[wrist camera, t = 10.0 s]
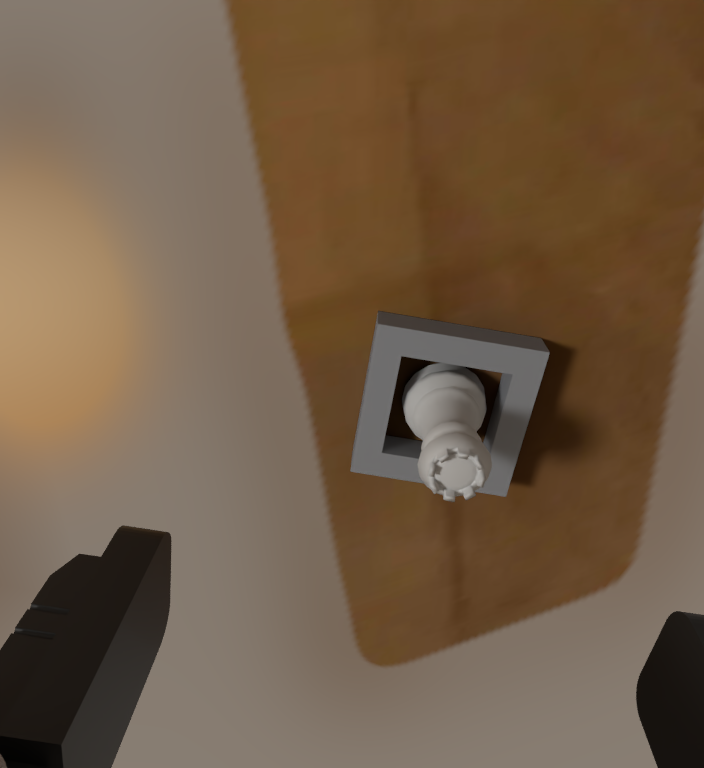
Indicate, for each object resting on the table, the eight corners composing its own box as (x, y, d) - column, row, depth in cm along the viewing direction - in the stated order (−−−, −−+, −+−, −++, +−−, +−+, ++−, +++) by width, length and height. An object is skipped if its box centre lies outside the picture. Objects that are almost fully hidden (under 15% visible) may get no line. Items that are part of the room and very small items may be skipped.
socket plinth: (378, 310, 34) (377, 323, 32) (541, 338, 34) (549, 352, 32) (352, 452, 37) (350, 471, 35) (500, 476, 37) (505, 496, 35)
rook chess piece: (461, 444, 37) (479, 533, 29) (388, 415, 36) (387, 498, 29) (499, 378, 35) (528, 455, 28) (423, 345, 34) (432, 416, 27)
